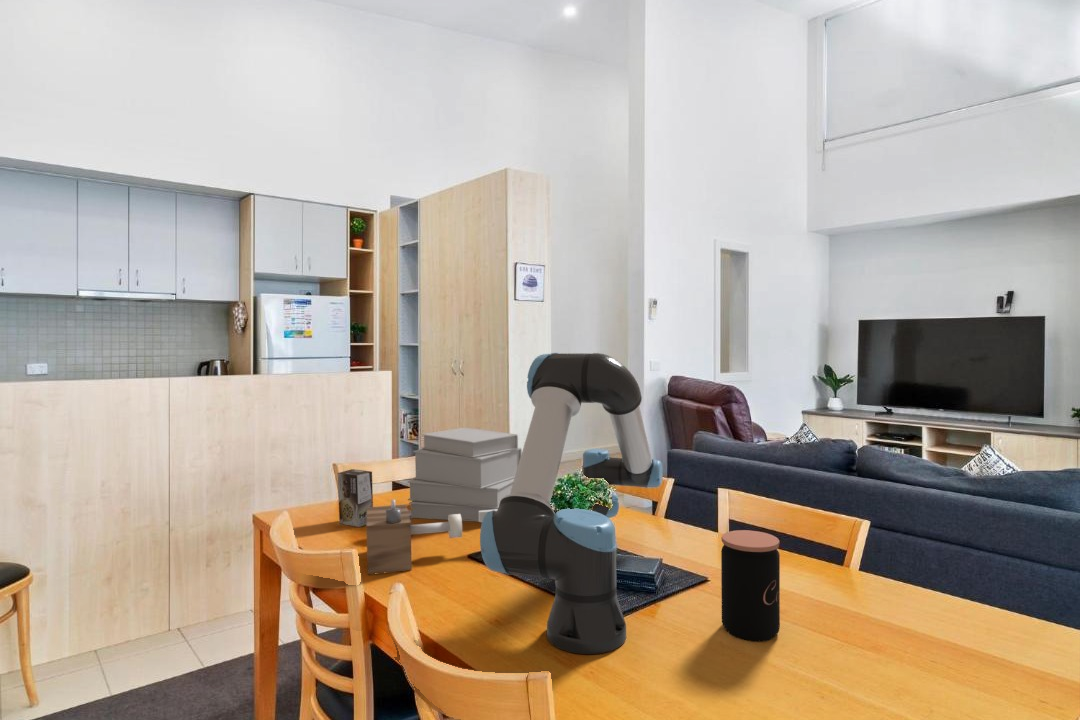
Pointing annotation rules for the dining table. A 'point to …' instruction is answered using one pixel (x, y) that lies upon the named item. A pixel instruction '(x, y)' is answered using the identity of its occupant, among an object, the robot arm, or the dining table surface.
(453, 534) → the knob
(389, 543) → the block
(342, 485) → the coffee box
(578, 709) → the dining table surface
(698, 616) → the dining table surface
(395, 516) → the potentiometer
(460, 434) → the book stack
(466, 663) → the dining table surface
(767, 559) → the coffee jar
